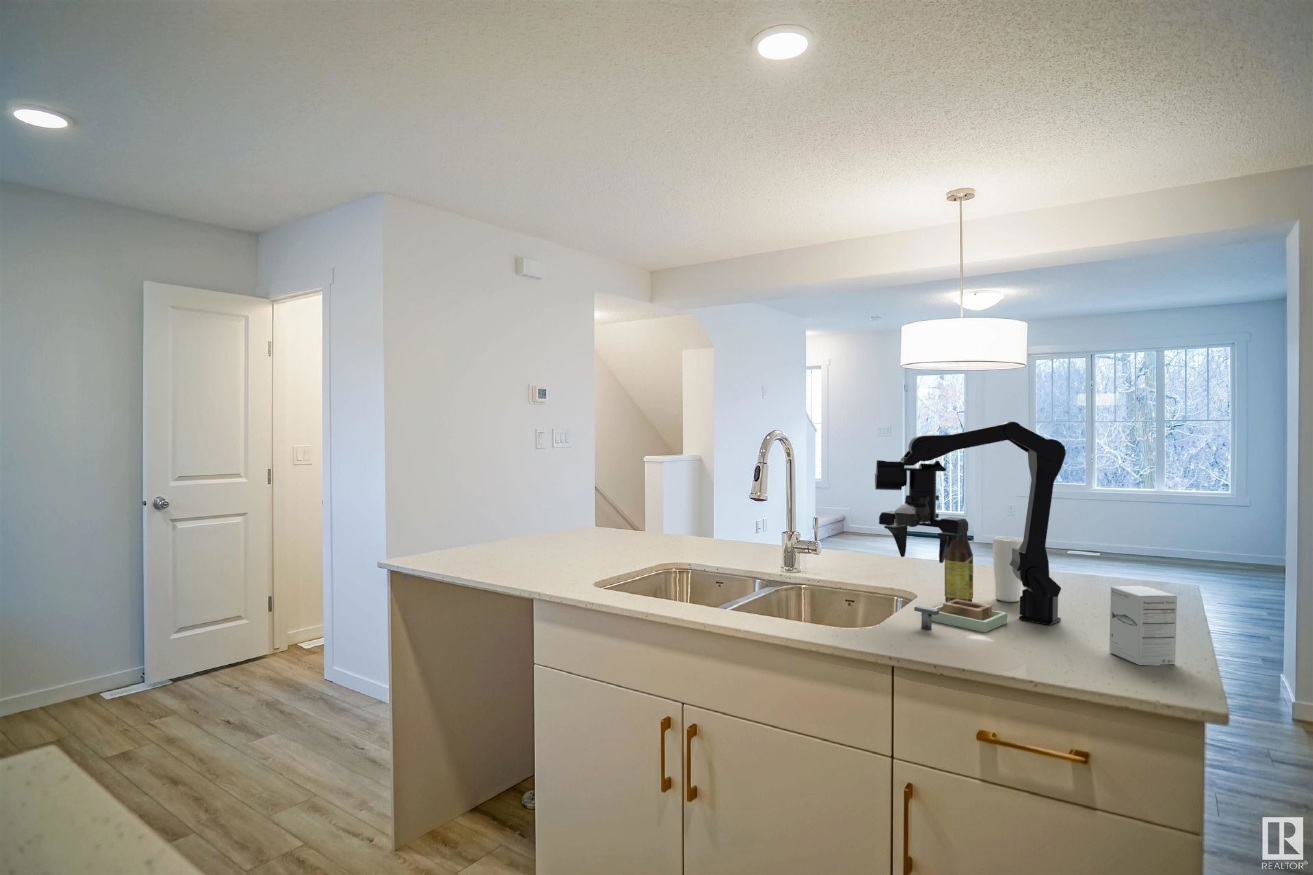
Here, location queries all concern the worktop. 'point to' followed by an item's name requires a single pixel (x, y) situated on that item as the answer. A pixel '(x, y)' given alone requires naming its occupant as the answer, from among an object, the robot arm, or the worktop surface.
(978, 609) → the collar
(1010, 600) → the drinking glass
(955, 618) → the tray
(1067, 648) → the worktop surface
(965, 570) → the sauce bottle
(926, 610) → the grey t-shaped knob
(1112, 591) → the supplement box
